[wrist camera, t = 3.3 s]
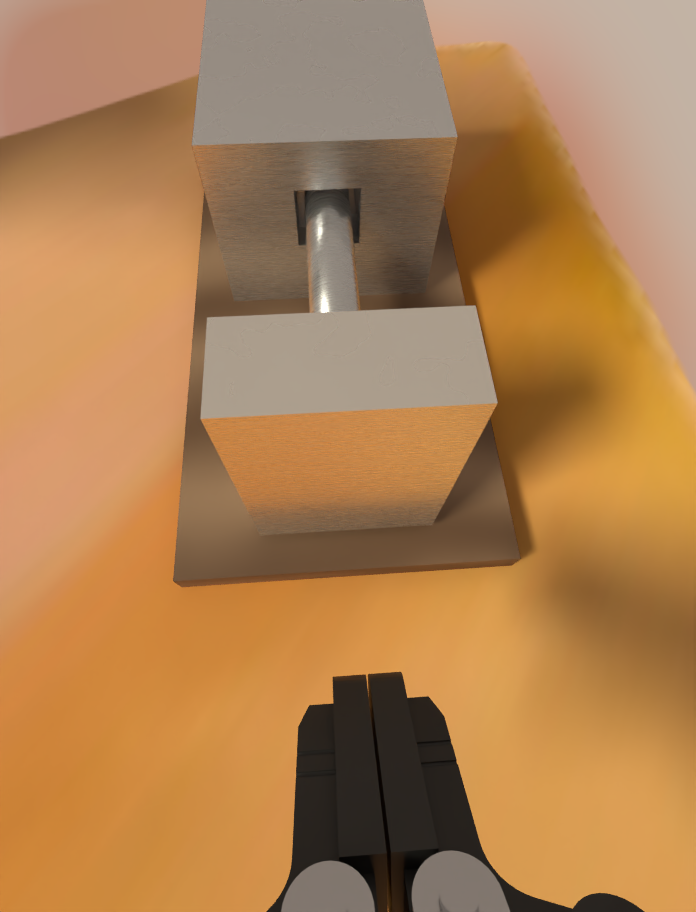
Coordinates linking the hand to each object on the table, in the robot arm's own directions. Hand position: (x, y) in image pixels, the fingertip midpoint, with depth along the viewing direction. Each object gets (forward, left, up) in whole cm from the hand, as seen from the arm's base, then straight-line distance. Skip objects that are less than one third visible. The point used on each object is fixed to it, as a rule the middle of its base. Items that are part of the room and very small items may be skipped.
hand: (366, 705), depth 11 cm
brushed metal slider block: (-10, +14, -7) cm, 18 cm away
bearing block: (-14, +20, -8) cm, 26 cm away
